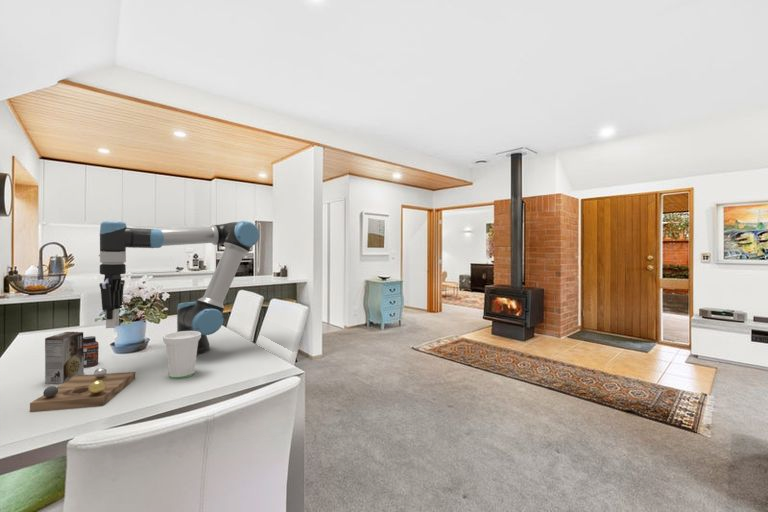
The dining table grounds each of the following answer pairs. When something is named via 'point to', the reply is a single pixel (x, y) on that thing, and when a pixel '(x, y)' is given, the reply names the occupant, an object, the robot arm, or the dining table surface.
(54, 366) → the coffee box
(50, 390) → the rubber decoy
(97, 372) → the steel ball
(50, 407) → the wooden board
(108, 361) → the dining table surface
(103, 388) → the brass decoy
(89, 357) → the supplement bottle
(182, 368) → the cup
